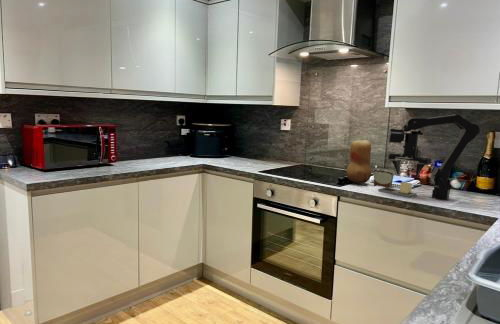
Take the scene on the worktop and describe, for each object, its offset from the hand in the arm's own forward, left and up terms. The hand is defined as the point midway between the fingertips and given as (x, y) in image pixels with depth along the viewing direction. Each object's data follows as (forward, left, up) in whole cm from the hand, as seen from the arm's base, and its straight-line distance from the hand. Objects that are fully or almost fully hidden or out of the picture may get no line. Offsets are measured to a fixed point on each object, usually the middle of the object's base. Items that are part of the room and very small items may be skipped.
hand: (407, 175), depth 181 cm
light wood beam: (0, 0, -10) cm, 10 cm away
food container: (+18, -14, -11) cm, 25 cm away
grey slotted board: (+4, 0, -11) cm, 11 cm away
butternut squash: (+32, -10, -11) cm, 35 cm away
